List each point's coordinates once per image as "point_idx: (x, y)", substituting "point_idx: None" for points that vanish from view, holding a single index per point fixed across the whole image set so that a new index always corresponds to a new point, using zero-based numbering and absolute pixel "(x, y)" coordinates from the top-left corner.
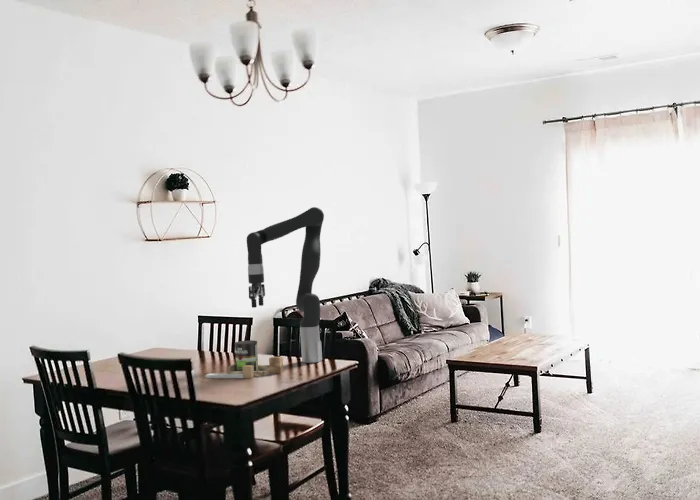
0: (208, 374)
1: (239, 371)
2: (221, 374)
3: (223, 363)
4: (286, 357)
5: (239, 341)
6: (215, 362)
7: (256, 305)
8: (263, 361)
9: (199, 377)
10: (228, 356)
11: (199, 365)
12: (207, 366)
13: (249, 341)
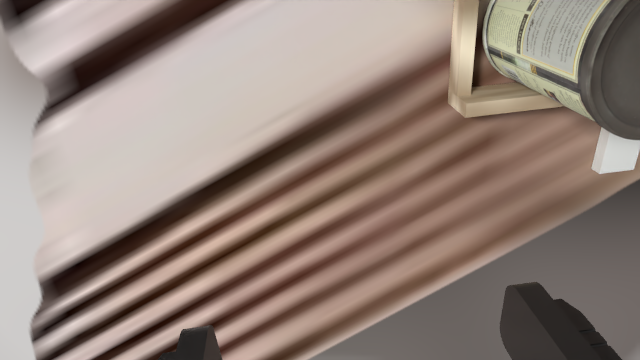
0: (618, 166)
1: None
2: None
3: (304, 266)
4: (63, 7)
5: (620, 130)
6: (286, 309)
7: (527, 301)
8: (225, 97)
9: (605, 195)
10: (140, 334)
11: (355, 330)
12: (375, 291)
13: (630, 51)
